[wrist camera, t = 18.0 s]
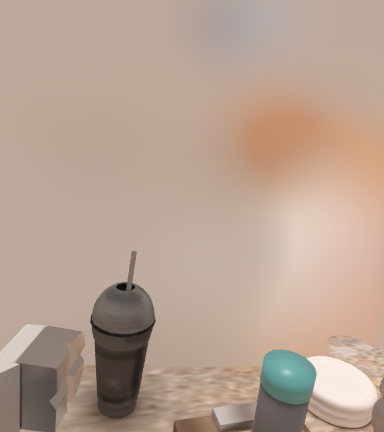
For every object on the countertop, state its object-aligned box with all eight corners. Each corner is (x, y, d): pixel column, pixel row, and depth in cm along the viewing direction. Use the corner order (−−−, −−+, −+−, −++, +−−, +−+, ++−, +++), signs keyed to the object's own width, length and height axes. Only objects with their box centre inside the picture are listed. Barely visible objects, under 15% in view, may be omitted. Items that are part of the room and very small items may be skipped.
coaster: (360, 383, 51) (366, 362, 50) (383, 439, 42) (390, 415, 41) (291, 368, 53) (295, 348, 52) (297, 419, 43) (303, 395, 42)
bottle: (257, 500, 31) (280, 387, 28) (236, 454, 35) (254, 352, 32) (301, 490, 32) (327, 381, 30) (276, 447, 37) (297, 347, 34)
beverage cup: (128, 374, 47) (139, 234, 43) (159, 409, 42) (175, 254, 37) (76, 396, 43) (81, 241, 38) (103, 438, 37) (114, 265, 33)
